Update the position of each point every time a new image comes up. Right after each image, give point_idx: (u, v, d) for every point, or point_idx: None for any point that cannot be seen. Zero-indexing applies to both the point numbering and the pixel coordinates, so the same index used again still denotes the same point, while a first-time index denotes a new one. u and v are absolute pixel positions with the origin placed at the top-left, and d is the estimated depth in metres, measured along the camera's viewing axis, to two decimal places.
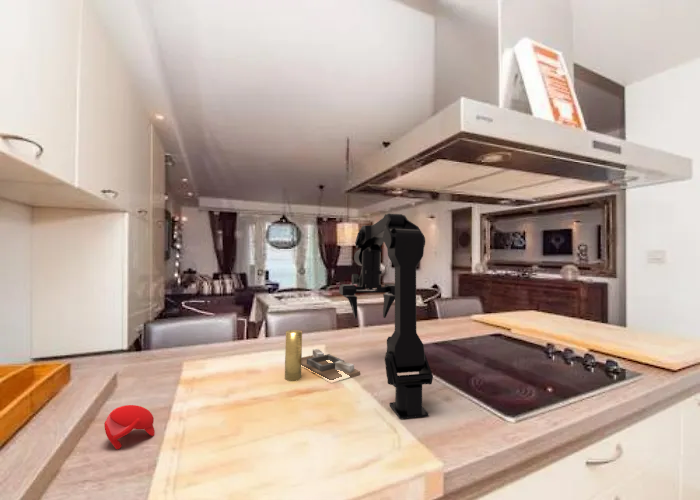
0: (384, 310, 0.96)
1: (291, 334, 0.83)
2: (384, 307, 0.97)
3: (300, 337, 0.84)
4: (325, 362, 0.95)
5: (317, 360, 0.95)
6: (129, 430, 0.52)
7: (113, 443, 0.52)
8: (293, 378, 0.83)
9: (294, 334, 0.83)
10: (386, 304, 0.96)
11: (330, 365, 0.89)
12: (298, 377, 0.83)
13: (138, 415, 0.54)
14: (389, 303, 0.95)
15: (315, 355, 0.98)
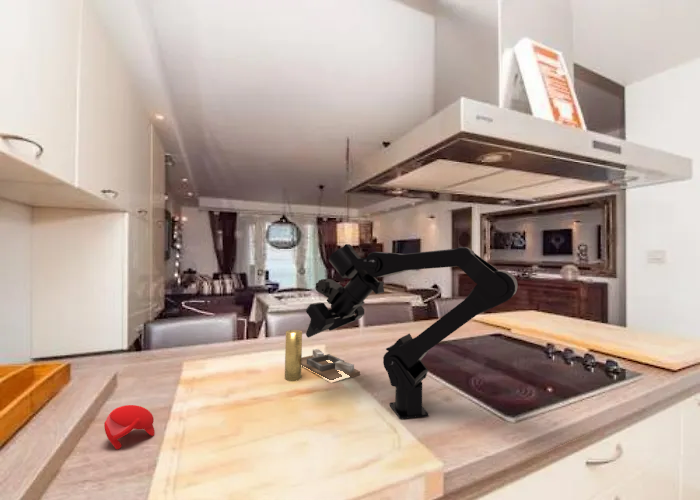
0: (334, 324, 0.84)
1: (291, 334, 0.83)
2: (335, 321, 0.84)
3: (300, 337, 0.84)
4: (325, 362, 0.95)
5: (317, 360, 0.95)
6: (129, 430, 0.52)
7: (113, 443, 0.52)
8: (293, 378, 0.83)
9: (294, 334, 0.83)
10: (341, 322, 0.83)
11: (330, 365, 0.89)
12: (298, 377, 0.83)
13: (138, 415, 0.54)
14: (345, 324, 0.83)
15: (315, 355, 0.98)
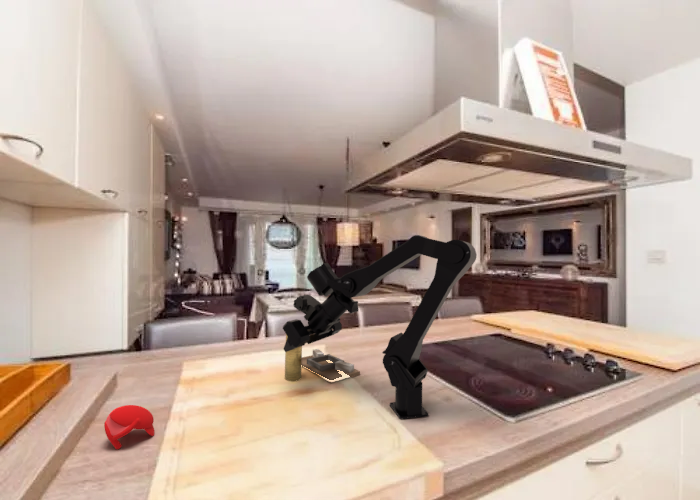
0: (312, 338, 0.87)
1: None
2: (313, 335, 0.87)
3: None
4: (325, 362, 0.95)
5: (317, 360, 0.95)
6: (129, 430, 0.52)
7: (113, 443, 0.52)
8: (293, 378, 0.83)
9: None
10: (318, 336, 0.87)
11: (330, 365, 0.89)
12: (298, 377, 0.83)
13: (138, 415, 0.54)
14: (323, 338, 0.87)
15: (315, 355, 0.98)
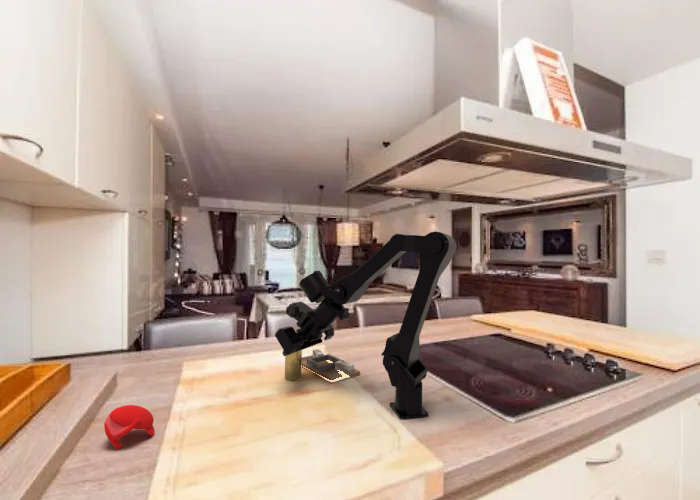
0: None
1: None
2: None
3: None
4: (325, 362, 0.95)
5: (317, 360, 0.95)
6: (129, 430, 0.52)
7: (113, 443, 0.52)
8: (293, 378, 0.83)
9: None
10: (306, 344, 0.86)
11: (330, 365, 0.89)
12: (298, 377, 0.83)
13: (138, 415, 0.54)
14: None
15: (315, 355, 0.98)
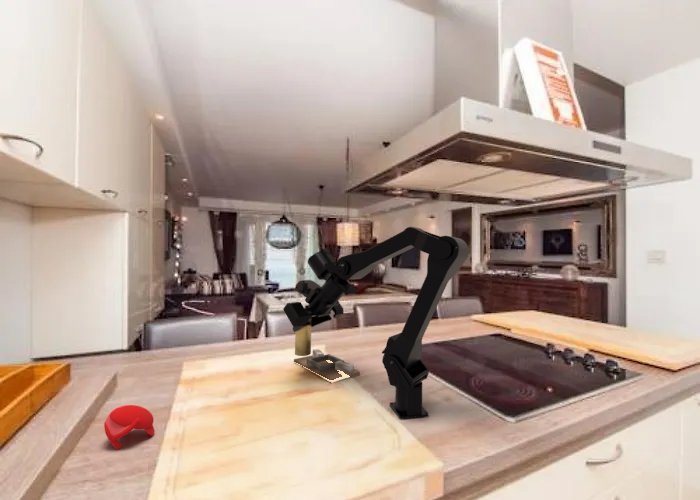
0: None
1: None
2: None
3: None
4: (325, 362, 0.95)
5: (317, 360, 0.95)
6: (129, 430, 0.52)
7: (113, 443, 0.52)
8: (302, 353, 0.85)
9: None
10: (316, 321, 0.88)
11: (330, 365, 0.89)
12: (307, 352, 0.86)
13: (138, 415, 0.54)
14: (320, 323, 0.88)
15: (315, 355, 0.98)
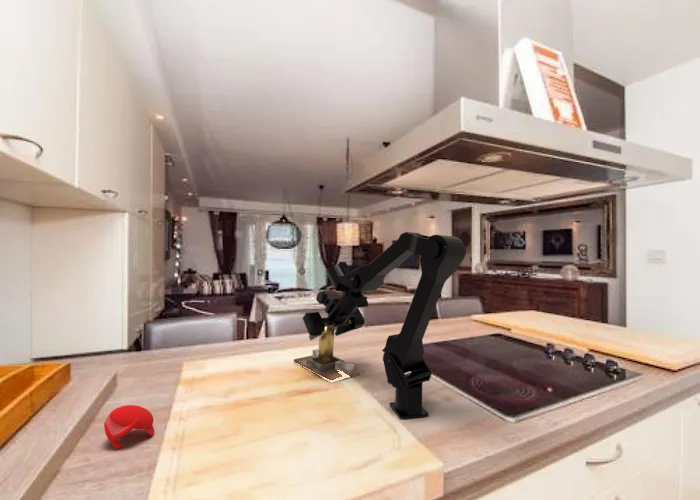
0: (339, 331, 0.95)
1: None
2: (340, 328, 0.95)
3: (331, 328, 0.91)
4: None
5: (317, 360, 0.95)
6: (129, 430, 0.52)
7: (113, 443, 0.52)
8: None
9: None
10: (343, 329, 0.94)
11: (330, 365, 0.89)
12: None
13: (138, 415, 0.54)
14: (347, 331, 0.94)
15: (315, 355, 0.98)
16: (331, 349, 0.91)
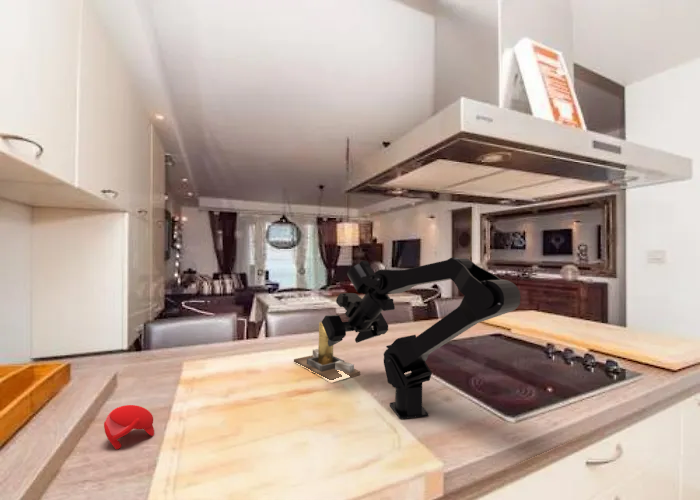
0: (359, 337, 0.88)
1: (322, 324, 0.91)
2: (360, 334, 0.88)
3: None
4: None
5: (317, 360, 0.95)
6: (129, 430, 0.52)
7: (113, 443, 0.52)
8: None
9: None
10: (365, 336, 0.86)
11: (330, 365, 0.89)
12: None
13: (138, 415, 0.54)
14: (369, 338, 0.86)
15: (315, 355, 0.98)
16: (331, 349, 0.91)
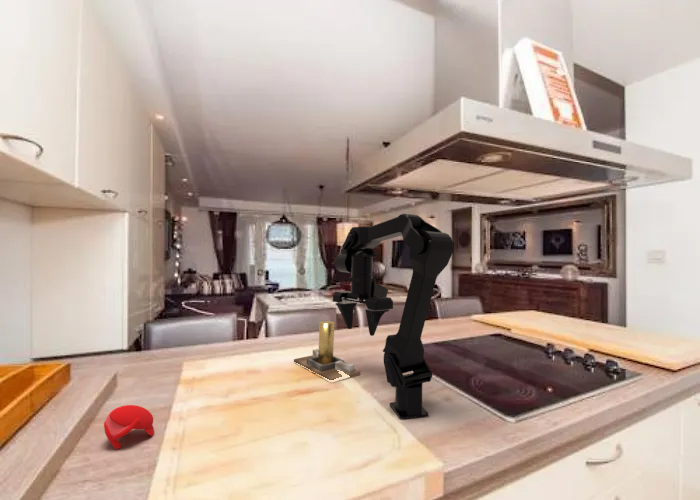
0: None
1: (323, 324, 0.91)
2: None
3: (331, 328, 0.91)
4: None
5: (317, 360, 0.95)
6: (129, 430, 0.52)
7: (113, 443, 0.52)
8: (324, 364, 0.90)
9: (325, 324, 0.91)
10: None
11: (330, 365, 0.89)
12: None
13: (138, 415, 0.54)
14: (367, 318, 0.79)
15: (315, 355, 0.98)
16: (331, 349, 0.91)
